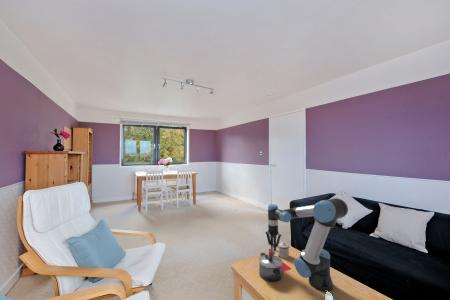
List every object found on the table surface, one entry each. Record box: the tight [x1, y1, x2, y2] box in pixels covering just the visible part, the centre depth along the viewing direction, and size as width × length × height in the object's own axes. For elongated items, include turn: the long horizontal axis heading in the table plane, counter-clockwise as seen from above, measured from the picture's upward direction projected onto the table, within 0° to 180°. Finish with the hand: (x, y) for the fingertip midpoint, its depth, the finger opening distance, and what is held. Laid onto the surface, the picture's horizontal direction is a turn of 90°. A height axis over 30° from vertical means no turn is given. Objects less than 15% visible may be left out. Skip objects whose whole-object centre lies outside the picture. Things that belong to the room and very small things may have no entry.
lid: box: [258, 248, 283, 269], centre depth 150 cm, size 23×17×4 cm
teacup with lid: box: [275, 241, 290, 259], centre depth 174 cm, size 12×9×12 cm
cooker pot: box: [258, 252, 283, 283], centre depth 149 cm, size 26×16×9 cm, turn 12°
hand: (273, 254), depth 158 cm, fingers closed
